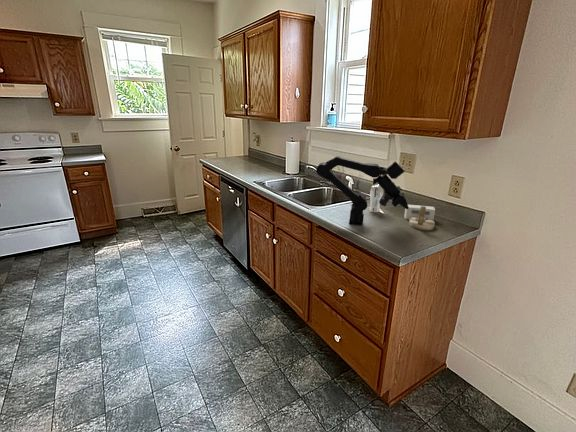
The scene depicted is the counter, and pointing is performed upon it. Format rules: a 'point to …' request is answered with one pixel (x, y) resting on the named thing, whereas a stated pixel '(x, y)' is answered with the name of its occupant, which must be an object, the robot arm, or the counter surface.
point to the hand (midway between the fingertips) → (407, 208)
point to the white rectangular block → (415, 210)
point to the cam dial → (421, 221)
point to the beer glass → (375, 198)
